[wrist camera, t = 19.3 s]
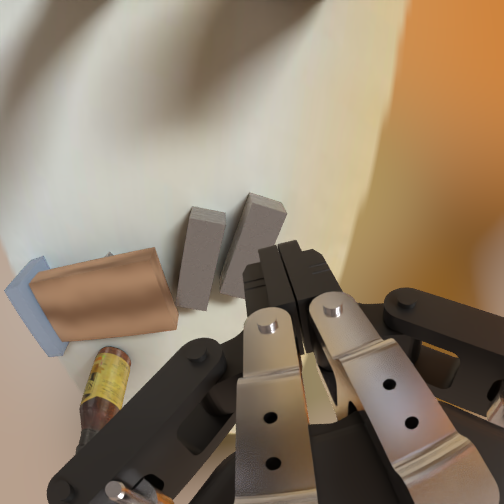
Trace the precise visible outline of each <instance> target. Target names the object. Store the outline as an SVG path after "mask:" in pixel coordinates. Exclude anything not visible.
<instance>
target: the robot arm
mask: <svg viewBox="0 0 504 504" xmlns="http://www.w3.org/2000/svg"><path fill="white" fill-rule="evenodd" d="M278 251H279V252H278ZM258 253H259V258H260V262H257V263H253V264H249V265H247V266H246V268H245V270H244V272H243V273H242V275H243V283H244V292H245V301H246V309H247V317H248V318H247V319H246V321H245V323H244V330H243V331H242V332H241V333H240V334H239V335H237V336H236V337H235V338H233V339H231V340H229V341H227V342H225V343H222V344H219V343H218V342H217V341H216V340H213V339H210V338H198V339H195V340H192V341H190V342H188V343H186V344H185V345H184V346H182V347H181V348H180V349H179V350H178V351H177V352H176V353H175V355H174V356H173V357H172V358H171V359H170V360H169V361H168V362H167V363H166V364H165V365H164V366H163V367H162V368H161V369H160V370H159V371H158V372H157V373H156V374H155V375H154V376H153V377H152V378H151V379H150V380H149V381H148V382H147V383H146V384H145V385H144V386H143V387H142V388H141V389H140V390H139V391H138V392H137V393H136V394H135V396H134V397H133V398H132V399H131V400H130V401H129V402H128V403H127V404H126V405H125V406H124V407H123V408H122V409H121V410H120V411H119V412H118V413H117V414H116V415H115V416H114V417H113V418H112V419H111V420H110V421H109V422H108V423H107V424H106V425H105V426H104V427H103V428H102V429H101V430H100V431H99V432H98V433H97V434H96V435H95V436H94V437H93V438H92V439H91V440H90V441H89V442H88V443H87V444H86V445H85V446H84V447H83V448H82V449H81V450H80V451H79V452H78V453H77V454H76V455H75V456H74V457H73V458H72V459H71V460H70V461H69V462H68V463H67V464H66V465H65V466H64V467H63V468H62V469H61V470H60V471H59V472H58V473H57V474H56V475H54V477H53V478H52V479H51V480H50V482H49V485H48V488H47V499H48V503H49V504H174V502H173V499H174V498H175V497H176V496H177V495H178V493H179V492H180V491H181V490H182V489H183V488H184V487H185V485H186V484H187V483H188V482H189V481H190V480H191V478H192V477H193V476H194V475H195V474H196V472H197V471H198V470H199V469H200V468H201V467H202V465H203V464H204V463H205V462H206V460H207V459H208V458H209V457H210V456H211V454H212V453H213V452H214V451H215V449H216V448H217V447H218V446H219V444H220V443H221V442H222V440H223V439H224V438H225V437H226V435H227V434H228V433H229V431H230V430H231V429H232V428H233V426H234V425H235V424H236V451H235V452H234V453H232V454H231V455H229V456H228V457H227V458H226V459H225V460H223V461H222V462H221V464H220V465H219V466H218V467H217V468H216V469H215V470H214V472H213V473H212V474H211V475H210V477H209V478H208V479H207V481H206V482H205V483H204V485H203V486H202V487H201V489H200V490H199V491H198V493H197V494H196V495H195V496H194V498H193V499H192V500H191V501H190V503H189V504H504V317H501V316H498V315H494V314H492V313H489V312H485V311H482V310H479V309H476V308H473V307H470V306H467V305H464V304H461V303H457V302H455V301H451V300H448V299H445V298H442V297H439V296H435V295H433V294H429V293H426V292H423V291H420V290H417V289H413V288H399V289H396V290H393V291H391V292H390V293H389V294H388V295H387V296H386V298H385V300H384V303H382V304H361V303H357V302H356V301H355V300H354V298H353V297H351V296H350V295H348V294H346V293H343V291H342V289H341V288H340V286H339V284H338V282H337V280H336V279H335V277H334V275H333V273H332V272H331V270H330V268H329V266H328V264H326V261H325V259H324V257H323V256H322V254H320V253H319V252H317V251H315V250H313V249H310V250H306V251H301V249H300V247H299V244H298V242H297V240H293V241H289V242H285V243H281V244H278V249H277V246H276V245H273V246H269V247H264V248H260V249H258ZM302 341H303V342H302ZM422 341H423V342H426V343H429V344H431V345H434V346H437V347H439V348H442V349H445V350H447V351H450V352H453V353H455V354H456V355H457V356H458V357H459V358H455V357H452V356H450V355H447V354H444V353H442V352H439V351H436V350H434V349H431V348H429V347H426V346H423V345H422ZM303 344H304V347H305V350H306V353H310V352H314V355H315V358H316V363H317V370H318V373H319V375H320V378H321V380H322V383H323V385H324V387H325V389H326V392H327V394H328V397H329V399H330V401H331V403H332V406H333V409H334V411H335V414H336V417H337V422H335V423H331V424H311V425H310V423H309V417H308V410H307V404H306V398H305V391H304V385H303V378H302V373H301V372H302V361H301V356H300V355H303V354H304V348H303ZM435 397H437V398H439V399H441V400H444V401H446V402H449V403H451V404H454V405H456V406H459V407H461V408H464V409H466V410H469V411H472V412H474V413H477V414H479V415H482V416H484V417H487V420H484V419H482V418H479V417H477V416H475V415H472V414H470V413H468V412H465V411H463V410H461V409H459V408H457V407H454V406H452V405H450V404H447V403H445V402H441V401H438V400H436V398H435Z"/></svg>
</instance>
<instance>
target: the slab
mask: <svg viewBox="0 0 504 504" xmlns="http://www.w3.org/2000/svg"><path fill="white" fill-rule="evenodd" d="M29 286H30V288H31V290H32V292H33V294H34V296H35V298H36V299H37V301H38V303H39V305H40V307H41V308H42V310H43V312H44V314H45V315H46V317H47V319H48V320H49V322H50V324H51V325H52V327H53V329H54V330H55V332H56V333H57V335H58V337H59V338H60V340H61V341H62V342H68V341H81V340H92V339H103V338H113V337H122V336H131V335H140V334H148V333H156V332H164V331H171V330H176V329H177V322H178V316H179V314H178V311H177V308H176V306H175V303H174V301H173V298H172V295H171V292H170V290H169V287H168V284H167V281H166V279H165V276H164V273H163V270H162V267H161V264H160V261H159V258H158V256H157V253H156V250H155V247H153V248H148V249H143V250H138V251H133V252H128V253H123V254H119V255H114V256H109V257H104V258H100V259H95V260H90V261H86V262H81V263H77V264H72V265H67V266H63V267H58V268H54V269H49V270H45V271H41V272H38V273H37V274H36V275H35V277H34V278H33V279H32V280H31V282H30V283H29Z"/></svg>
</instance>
